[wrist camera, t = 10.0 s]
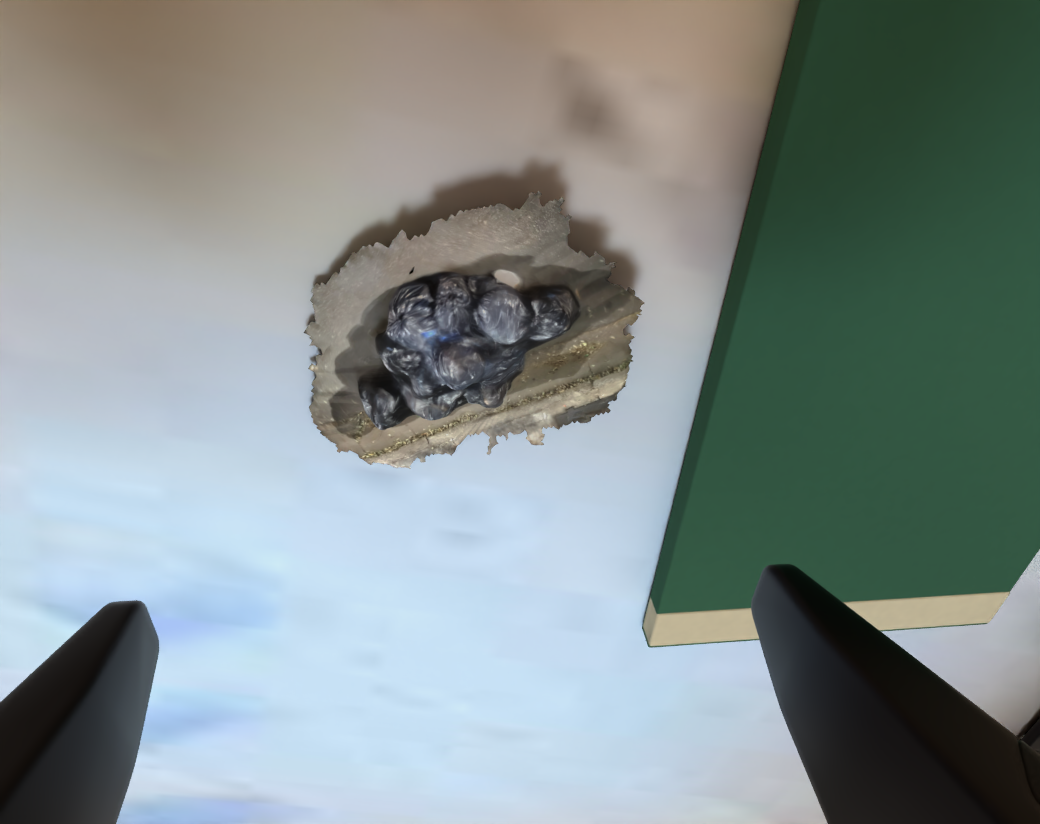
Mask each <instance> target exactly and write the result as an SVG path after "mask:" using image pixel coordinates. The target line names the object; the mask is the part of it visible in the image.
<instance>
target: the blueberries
mask: <svg viewBox="0 0 1040 824" xmlns="http://www.w3.org/2000/svg"><path fill="white" fill-rule="evenodd" d="M528 195H529V197H528V199H527V200H526V202H525V203H524V204H523V206H522V207H521V208H520V210H518V209H517V208H515V209H514V210H513V211H512V210H511V209H510V208H509V207H507V206H506V205H504V204H499V203H497V204H496V205H495V207H493V206H491V205H490V206H489V207H488V208H487V207H485V206H484V207H483V208H482V209H481V208H479V207H478V208H477V209H476V210H475V209H473V208H472V209H471V210H470V211H469V210H467V209H466V210H465V211H464V212H462V211H461V210H460V211H459V212H458V213H457V215H456V216H455V217H454V216H453V215H451V216H450V217H449V219H448V220H447V222H446V221H445V220H443V219H442V218H440V219H438V220H437V221H434V222H432V224H431V228H430V230H429V232H428V233H427V234H426V236H425V237H424V236H423V235H422V234H421V235H420V236H419V237H417V236H416V235H415V236H414V237H413V238H412V239H411V241H410V240H409V239H407V237H406V233H405V232H404V231H403V230H401V231H400V232H399V234H398V235H397V237H396V238H395V239H394V240H393V241H392V243H391V245H390V247H389V248H387V247H386V246H384V245H382V244H381V243H378V242H376V243H375V244H374V246H373V247H372V246H371V245H368V247H365V246H362V248H361V249H360V251H358V252H357V253H356V254H355V253H354V252H353V253H352V254H351V256H350V258H349V260H348V261H347V262H346V264H345V265H344V267H341V271H340V273H339V274H338V273H337V272H335V273H334V274H333V275H332V276H331V278H330V280H329V281H328V282H327V284H326V285H325V284H323V283H321V284H320V285H319V284H317V283H316V284H315V286H314V288H313V289H312V291H311V292H312V293H313V294H314V295H313V297H312V298H311V300H310V301H311V302H312V303H313V304H312V305H313V308H314V313H315V316H314V318H315V319H316V320H315V322H313V321H311V322H310V324H309V326H308V327H307V329H306V330H305V332H304V333H305V334H307V335H310V336H311V337H310V339H312V340H313V341H312V342H311V344H310V345H309V346H311V345H315V346H316V347H318V348H320V349H321V351H322V355H317V357H316V362H317V364H316V365H313V364H311V365H310V367H309V368H308V369H310V370H311V371H313V372H315V374H316V376H317V377H316V378H315V380H314V381H313V383H312V385H313V386H314V388H313V389H312V391H311V392H313V393H314V395H313V398H314V401H313V402H312V404H311V405H310V406H309V409H310V411H311V414H312V418H313V422H314V424H316V425H317V426H318V427H317V429H319V430H320V431H321V432H320V433H321V434H322V435H323V436H326V438H328V440H330V441H331V442H333V443H335V444H337V445H336V447H337V448H338V450H337V452H339V453H340V452H341V451H344V452H348V451H349V450H350V451H353V452H355V453H357V454H358V455H359V458H361V459H363V460H364V461H366V462H367V463H368V464H370V465H372V463H373V462H375V463H377V462H378V463H381V464H388V465H391V466H393V467H395V468H398V467H406V468H410V465H411V464H412V462H413V461H414V460H415V459H416V458H417V457H418V458H419V459H420V461H421V462H425V456H426V455H428V456H430V455H431V454H433V455H434V454H438V453H439V454H445V453H447V454H451V456H452V454H453V453H454V452H455V450H456V447H457V446H458V445H459V444H460V443H461V442H462V441H463V440H464V439H465V437H466V436H467V435H468V434H469V435H470V436H471V434H473V435H474V434H475V433H476V434H477V435H479V434H480V433H481V432H482V431H483V432H484V433H485V434H487V435H488V436H490V439H489V443H490V444H489V446H488V452H487V454H488V455H489V454H490V453H491V448H492V447H493V446H495V445H496V444H498V443H497V441H496V436H497V435H499V436H500V437H501V436H502V435H504V436H505V437H506V440H507V439H508V433H509V432H511V433H513V434H514V435H515V434H520V433H522V432H523V431H524V430H526V431H527V435H528V436H527V437H526V439H527V440H528V441H530V443H531V444H533V445H544V444H543V443H542V442H541V441H542V440H543V438H544V435H545V434H542V428H543V427H545V428H546V429H547V427H548V426H549V427H550V428H552V427H553V426H554V427H556V428H557V429H559V428H560V427H562V426H563V424H564V425H568V424H570V423H571V422H572V421H573V422H574V423H575V422H576V421H578V422H580V423H587V422H590V421H591V417H594V416H595V415H596V414H597V415H600V413H602V414H604V413H605V412H607V413H609V412H610V410H609V409H608V408H607V407H608V406H609V404H607V403H608V402H609V401H612V400H613V401H615V400H617V394H618V392H619V391H620V390H621V389H622V388H623V387H625V383H626V381H625V380H626V379H627V373H628V371H629V364H630V362H631V361H632V360H631V359H632V357H633V356H632V355H630V354H631V351H632V350H631V349H630V347H629V345H628V344H629V343H630V342H631V339H633V338H634V336H632V335H630V334H627V335H624V334H623V329H624V328H625V327H626V325H627V324H630V325H632V324H633V323H634V322H635V321H636V320H637V318H638V316H637V314H639V315H641V314H640V312H641V311H642V310H640V307H641V305H643V304H644V302H643V301H642V300H640V299H639V298H638V297H636V296H634V295H635V291H634V290H632V289H631V288H629V287H628V289H627V291H626V290H625V289H624V288H623V287H622V286H620V285H614V284H612V283H610V282H608V281H607V278H608V277H609V276H610V275H611V268H614V267H616V266H614V265H613V263H615V262H610V263H609V264H608V265H606V264H605V259H604V258H603V257H602V256H601V255H600V254H598V253H597V252H596V251H595V252H594V255H595V256H594V255H592V256H591V257H590V258H589V257H588V256H587V255H585V254H584V253H583V252H582V251H581V250H580V251H579V253H576V252H575V251H574V250H573V249H571V248H570V247H569V246H568V240H567V236H568V234H569V233H570V227H569V219H570V218H571V216H570V215H568V216H567V217H564V216H563V215H562V214H560V213H559V212H560V211H561V208H559V207H560V205H561V204H562V203H563V202H564V200H563V197H561V198H560V200H559V201H557V200H556V199H555V200H554V201H553V202H551V201H549V202H548V203H547V204H546V205H545V206H544V207H543V206H542V205H541V204H540V196H541V195H542V194H541V193H540V192H539V191H538V193H537V194H534V193H533V192H532V193H529V194H528ZM414 265H415V266H414ZM413 267H414V272H413V273H412V274H409V272H410V271H411V269H412V268H413ZM410 469H411V468H410Z"/></svg>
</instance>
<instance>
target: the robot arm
mask: <svg viewBox="0 0 1040 824" xmlns="http://www.w3.org/2000/svg"><path fill="white" fill-rule="evenodd" d="M751 611H752V616H753V620H754V623H755V626H756V630H757V633H758V636H759V640H760V643H761V647H762V650H763V653H764V657H765V660H766V663H767V667H768V670H769V673H770V677H771V680H772V683H773V687H774V690H775V693H776V696H777V699H778V702H779V705H780V709H781V711H782V714H783V716H784V719H785V721H786V724H787V726H788V729H789V731H790V734H791V736H792V738H793V741H794V743H795V746H796V748H797V750H798V753H799V755H800V758H801V760H802V762H803V765H804V767H805V770H806V772H807V774H808V777H809V779H810V782H811V784H812V786H813V789H814V791H815V794H816V796H817V799H818V801H819V803H820V806H821V808H822V811H823V813H824V815H825V818H826V820H827V823H828V824H1040V718H1039V720H1038V721H1037V722H1036V723H1035V724H1034V725H1033V726H1032V728H1031V729H1030V730H1029V731H1028V732H1027V733H1026V734H1025V736H1024V737H1023V738H1022V739H1021V740H1017V737H1016V736H1015V735H1014V734H1013V733H1011V732H1010V731H1009V730H1008V729H1006V728H1005V727H1004V726H1002V725H1001V724H1000V723H999V722H997V721H996V720H995V719H993V718H992V717H991V716H989V715H988V714H987V713H986V712H984V711H983V710H982V709H980V708H979V707H978V706H976V705H975V704H974V703H973V702H971V701H970V700H969V699H967V698H966V697H965V696H964V695H962V694H961V693H960V692H958V691H957V690H956V689H954V688H953V687H952V686H951V685H949V684H948V683H947V682H945V681H944V680H943V679H941V678H940V677H939V676H938V675H936V674H935V673H934V672H932V671H931V670H930V669H929V668H927V667H926V666H925V665H923V664H922V663H921V662H919V661H918V660H917V659H916V658H914V657H913V656H912V655H910V654H909V653H908V652H906V651H905V650H904V649H903V648H901V647H900V646H899V645H897V644H896V643H895V642H894V641H892V640H891V639H890V638H888V637H887V636H886V635H884V634H883V633H882V632H881V631H879V630H878V629H877V628H875V627H874V626H873V625H871V624H870V623H869V622H868V621H866V620H865V619H864V618H862V617H861V616H860V615H859V614H857V613H856V612H855V611H853V610H852V609H851V608H849V607H848V606H847V605H846V604H844V603H843V602H842V601H840V600H839V599H838V598H836V597H835V596H834V595H833V594H831V593H830V592H829V591H827V590H826V589H825V588H824V587H822V586H821V585H820V584H818V583H817V582H816V581H814V580H813V579H812V578H811V577H809V576H808V575H807V574H805V573H804V572H803V571H801V570H800V569H799V568H797V567H796V566H794V565H792V564H775V565H767V566H766V567H765V568H764V569H763V571H762V573H761V576H760V579H759V581H758V584H757V587H756V589H755V592H754V594H753V597H752V601H751ZM158 654H159V640H158V636H157V633H156V631H155V628H154V625H153V623H152V620H151V618H150V615H149V613H148V610H147V608H146V606H145V604H144V603H143V602H141V601H137V600H136V601H119V602H111V603H109V604H107V605H106V606H104V607H103V608H102V609H101V610H100V611H99V612H97V613H96V614H95V615H94V616H93V617H92V618H91V619H90V620H89V621H88V622H87V623H86V624H85V625H83V626H82V627H81V628H80V629H79V630H78V631H77V632H76V633H75V634H74V635H73V636H72V637H70V638H69V639H68V640H67V641H66V642H65V643H64V644H63V645H62V646H61V647H60V648H59V649H57V650H56V651H55V652H54V653H53V654H52V655H51V656H50V657H49V658H48V659H47V660H46V661H45V662H43V663H42V664H41V665H40V666H39V667H38V668H37V669H36V670H35V671H34V672H33V673H32V674H30V675H29V676H28V677H27V678H26V679H25V680H24V681H23V682H22V683H21V684H20V685H19V686H17V687H16V688H15V689H14V690H13V691H12V692H11V693H10V694H9V695H8V696H7V697H6V698H5V699H3V700H2V701H1V702H0V824H116V822H117V819H118V816H119V813H120V810H121V807H122V804H123V801H124V798H125V795H126V792H127V789H128V786H129V783H130V779H131V776H132V773H133V769H134V766H135V762H136V758H137V753H138V749H139V745H140V740H141V735H142V730H143V726H144V721H145V716H146V711H147V707H148V702H149V697H150V692H151V688H152V683H153V678H154V673H155V669H156V664H157V659H158Z"/></svg>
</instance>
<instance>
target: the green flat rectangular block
mask: <svg viewBox="0 0 1040 824" xmlns="http://www.w3.org/2000/svg"><path fill="white" fill-rule="evenodd" d="M1039 549H1040V0H800V3H799V7H798V11H797V15H796V19H795V23H794V27H793V31H792V34H791V38H790V42H789V46H788V50H787V54H786V58H785V62H784V66H783V70H782V74H781V78H780V82H779V86H778V90H777V94H776V98H775V102H774V106H773V110H772V114H771V118H770V122H769V126H768V130H767V134H766V138H765V142H764V146H763V150H762V154H761V158H760V162H759V166H758V170H757V174H756V178H755V181H754V185H753V189H752V193H751V197H750V201H749V205H748V209H747V213H746V217H745V221H744V225H743V229H742V233H741V237H740V241H739V245H738V249H737V253H736V257H735V261H734V265H733V269H732V273H731V277H730V281H729V285H728V289H727V293H726V297H725V301H724V305H723V309H722V313H721V317H720V321H719V325H718V329H717V332H716V336H715V340H714V344H713V348H712V352H711V356H710V360H709V364H708V368H707V372H706V376H705V380H704V384H703V388H702V392H701V396H700V400H699V404H698V408H697V412H696V416H695V420H694V424H693V428H692V432H691V436H690V440H689V444H688V448H687V452H686V456H685V460H684V464H683V468H682V472H681V476H680V480H679V483H678V487H677V491H676V495H675V499H674V503H673V507H672V511H671V515H670V519H669V523H668V527H667V531H666V535H665V539H664V543H663V547H662V551H661V555H660V559H659V563H658V567H657V571H656V575H655V579H654V583H653V587H652V591H651V595H650V599H649V603H648V607H647V611H646V615H645V619H644V623H643V627H642V629H643V632H644V635H645V638H646V641H647V644H648V647H664V646H678V645H693V644H707V643H721V642H736V641H750V640H759V636H758V633H757V630H756V626H755V623H754V620H753V616H752V611H751V601H752V597H753V594H754V592H755V589H756V587H757V584H758V581H759V579H760V576H761V573H762V571H763V569H764V568H765V567H766V566H767V565H775V564H792V565H794V566H796V567H797V568H799V569H800V570H801V571H803V572H804V573H805V574H807V575H808V576H809V577H811V578H812V579H813V580H814V581H816V582H817V583H818V584H820V585H821V586H822V587H824V588H825V589H826V590H827V591H829V592H830V593H831V594H833V595H834V596H835V597H836V598H838V599H839V600H840V601H842V602H843V603H844V604H846V605H847V606H848V607H849V608H851V609H852V610H853V611H855V612H856V613H857V614H859V615H860V616H861V617H862V618H864V619H865V620H866V621H868V622H869V623H870V624H871V625H873V626H874V627H875V628H877V629H878V630H879V631H893V630H907V629H921V628H936V627H950V626H964V625H979V624H987V623H988V622H990V621H991V619H992V618H993V616H994V615H995V614H996V612H997V611H998V609H999V608H1000V607H1001V605H1002V604H1003V602H1004V601H1005V599H1006V598H1007V597H1008V595H1009V594H1010V591H1011V589H1012V588H1013V586H1014V585H1015V583H1016V582H1017V581H1018V579H1019V578H1020V576H1021V575H1022V573H1023V572H1024V571H1025V569H1026V568H1027V566H1028V565H1029V563H1030V562H1031V561H1032V559H1033V558H1034V556H1035V555H1036V553H1037V552H1038V551H1039Z"/></svg>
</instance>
